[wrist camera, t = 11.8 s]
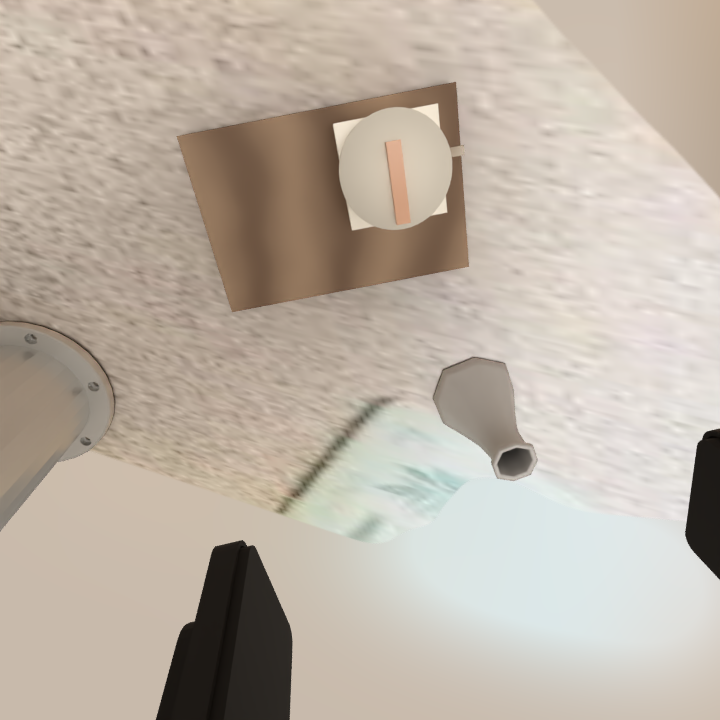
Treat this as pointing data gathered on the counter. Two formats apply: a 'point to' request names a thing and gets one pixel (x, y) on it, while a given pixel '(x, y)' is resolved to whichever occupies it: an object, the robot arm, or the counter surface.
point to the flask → (485, 414)
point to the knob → (394, 167)
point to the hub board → (312, 206)
